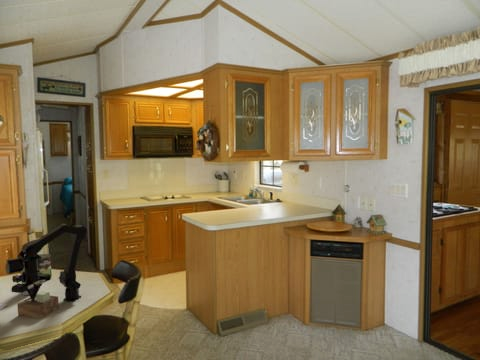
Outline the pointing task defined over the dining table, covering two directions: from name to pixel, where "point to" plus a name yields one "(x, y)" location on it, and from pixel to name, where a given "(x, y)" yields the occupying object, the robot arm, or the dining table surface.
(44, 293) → the sage peg
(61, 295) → the dining table surface
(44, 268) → the coffee can
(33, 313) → the walnut block
